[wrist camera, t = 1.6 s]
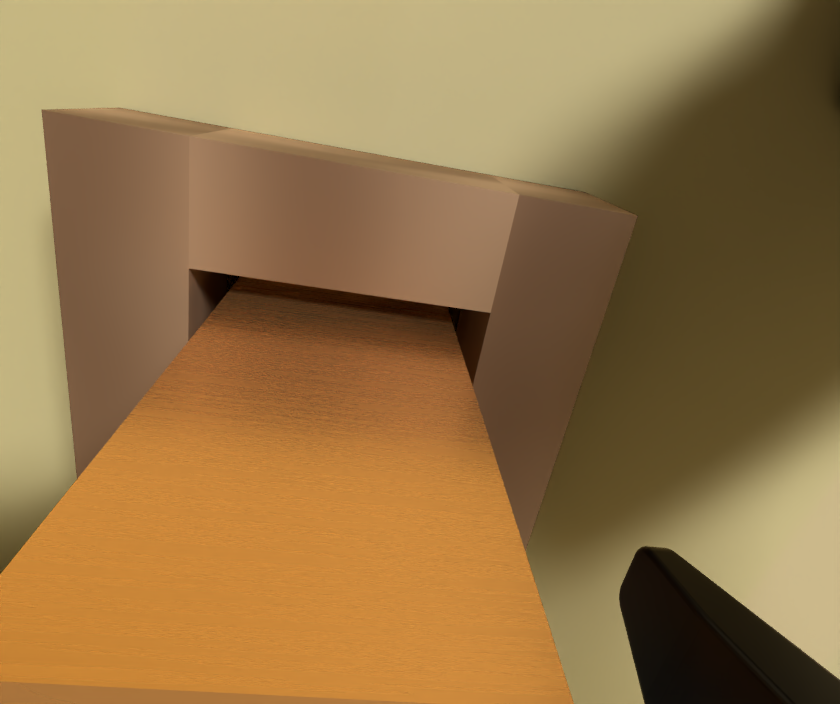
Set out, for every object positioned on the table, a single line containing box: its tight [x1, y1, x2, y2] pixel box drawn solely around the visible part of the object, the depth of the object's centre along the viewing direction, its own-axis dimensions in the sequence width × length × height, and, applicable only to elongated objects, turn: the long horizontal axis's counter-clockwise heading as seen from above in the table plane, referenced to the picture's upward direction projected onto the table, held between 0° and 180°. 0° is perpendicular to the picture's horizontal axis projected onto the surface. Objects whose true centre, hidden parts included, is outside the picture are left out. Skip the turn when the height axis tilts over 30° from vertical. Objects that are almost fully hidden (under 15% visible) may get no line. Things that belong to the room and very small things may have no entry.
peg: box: [0, 276, 574, 704], centre depth 8 cm, size 4×4×9 cm
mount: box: [42, 108, 638, 551], centre depth 11 cm, size 9×9×2 cm
